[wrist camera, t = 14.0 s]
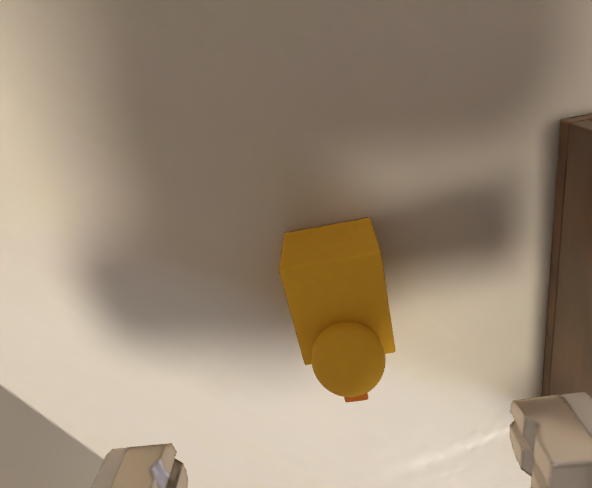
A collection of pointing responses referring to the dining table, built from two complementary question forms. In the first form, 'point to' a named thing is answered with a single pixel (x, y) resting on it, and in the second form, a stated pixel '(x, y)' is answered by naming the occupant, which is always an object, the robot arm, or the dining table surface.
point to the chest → (571, 266)
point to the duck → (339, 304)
